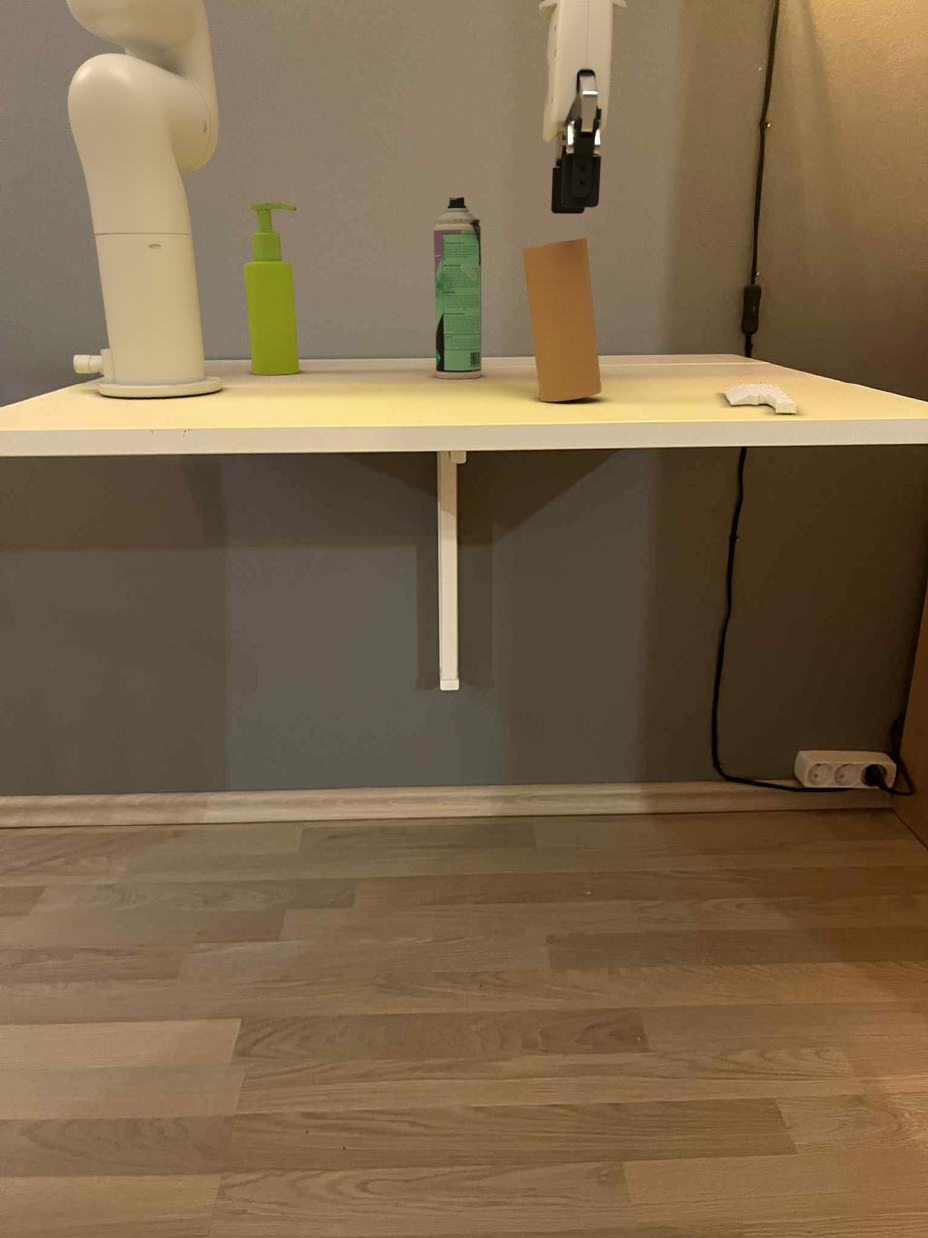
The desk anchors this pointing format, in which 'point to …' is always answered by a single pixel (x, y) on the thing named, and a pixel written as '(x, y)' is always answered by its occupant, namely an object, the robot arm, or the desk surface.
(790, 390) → the desk surface
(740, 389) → the white curved arc piece
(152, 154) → the robot arm
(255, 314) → the soap dispenser
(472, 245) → the spray can
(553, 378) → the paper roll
